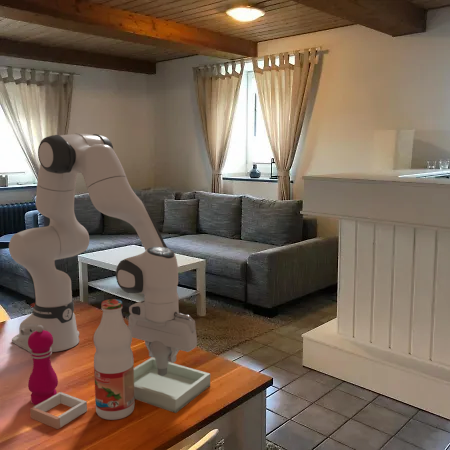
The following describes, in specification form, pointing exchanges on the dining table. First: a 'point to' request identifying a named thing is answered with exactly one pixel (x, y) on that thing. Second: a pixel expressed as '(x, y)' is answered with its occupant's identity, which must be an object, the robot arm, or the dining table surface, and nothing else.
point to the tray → (168, 385)
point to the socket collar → (57, 422)
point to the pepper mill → (41, 366)
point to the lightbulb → (161, 356)
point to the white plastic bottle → (113, 364)
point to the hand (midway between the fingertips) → (162, 358)
